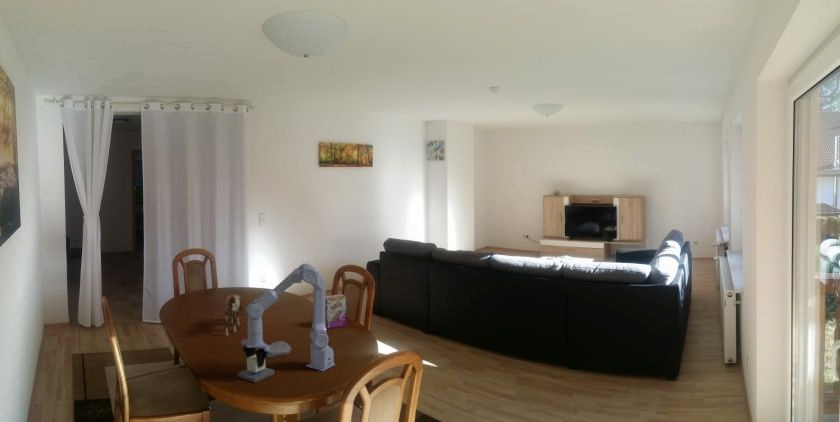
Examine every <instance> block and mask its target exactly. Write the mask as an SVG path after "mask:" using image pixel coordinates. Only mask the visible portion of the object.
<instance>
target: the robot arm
mask: <svg viewBox="0 0 840 422" xmlns="http://www.w3.org/2000/svg"><path fill="white" fill-rule="evenodd" d="M303 282H305V283H307V284H309V285H311V286H312V287H313V293H312V295H313V296H312V297H313V298H312V299H313V304H312V306H313V307H312V309H313V310H312V311H313V312H312V313H313V314H312V318H313V319H312V324H311V330H310V332H309V337H310V339H311V343H310V363H308V364H306V367H308V368H310V369H315V370H317V371H321V372H324V371H326V370H328V369H330V368H331V367H334V366H336V363H335V359H334V358H335V353H334V349H333V348H331V346H329V345H328V343H329V338H330V337H329V336H328V334H327V330H328V329H326V326H325V296H326V281H325V279H324V278H323V277H322V275H321V274H320V272H319V271H318V270H316V269H315V267H314V266H312V265H311V264H309V263H302V264H300V265H299V266H298V267H296V268H295V269H294V270H292V272H290V274H288V275H287V276H286V277H285V278H283V280H282V281H281V282H280V283H279V284H277V285H276V286H275V287H274V288H273V289H267V290H266V289H265V290H263V292H262V294H261V295H259V297H257V299H256V298H255V299H253V302H250V303H248V305H247V306H246V310H245V312H246V313H247V338H244V339H242V340H241V345H242V346H244V347H242V351H243V352H244V353H245V355H246V359H247V358H248V357H250V356H253V355H255V354H256V356H257V362H258V367H261V366H263V365H264V360H265V361H266V358H267V357H266V355H267V353H268V351H269V350H270V345H271V344H267V343H266V342H264V333H263V329H264V328H263V319H262V318H263V317H262V316H263V314H264V311H266V310H268V309H269V308H271V306H273V304H275V303H276V302H277V301H278V300H279V296H280V295H281V294H283V293H284V292H285V291H286V290H287V289H289V288H290V287H292V286H293V285H294V284H302V283H303Z"/></svg>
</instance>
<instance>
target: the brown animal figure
mask: <svg viewBox="0 0 840 422" xmlns="http://www.w3.org/2000/svg"><path fill="white" fill-rule="evenodd" d="M241 299H242V298H241V296H240V295H239V294H230V295H228V296H226V301H225V304H224V309H223V310H224V311H223V313H224V324H225V334H224V335H225V337H228V336H229V334H230V333H229V329H228V327H229V326H228V325H229V324H228V322H229V321H228V320H229V317H231V318H230V319H231V321H230V324H231V325H233V333H237V328H236V327H240V325H241V323H240V318H239V311H240V312H241V313H242V314H245V313H246V309H247V308H246V309H245V308H243V305H242V302H241Z"/></svg>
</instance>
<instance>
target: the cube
mask: <svg viewBox="0 0 840 422" xmlns="http://www.w3.org/2000/svg"><path fill="white" fill-rule="evenodd" d="M265 367H266V359H265V360H264V365H263V366H261V367H258V362H257V356H256V354H255V355H253V356H250V357H248V358H247V357H246V368H247V369H246V370H249V371H252V372H258V371H260V370H263V369H265Z"/></svg>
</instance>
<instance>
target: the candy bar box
mask: <svg viewBox="0 0 840 422" xmlns="http://www.w3.org/2000/svg"><path fill="white" fill-rule="evenodd" d="M325 326H326V330H328V329H335V328H340V327H341V328H342V327H346V326H347V295H345V294H335V295H334V294H333V295H325Z"/></svg>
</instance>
